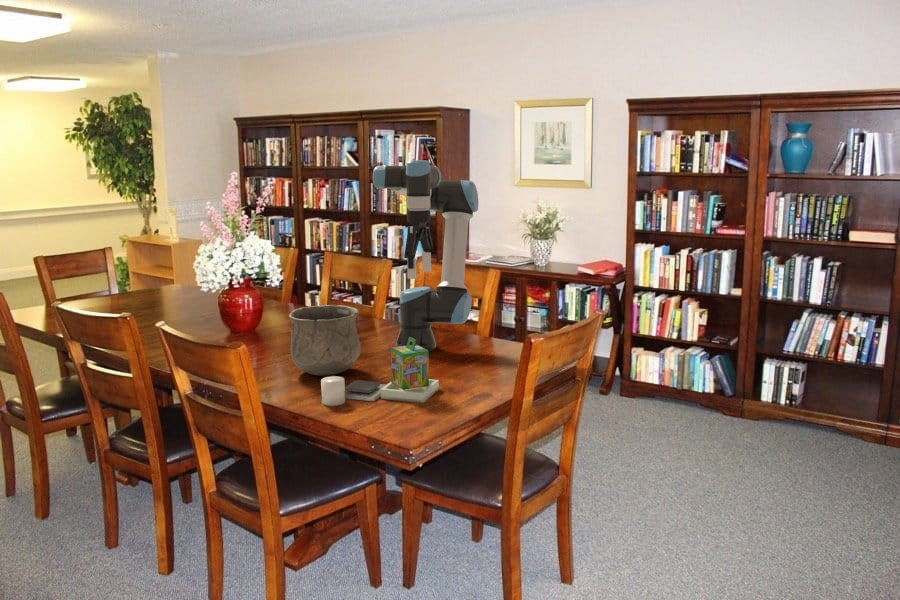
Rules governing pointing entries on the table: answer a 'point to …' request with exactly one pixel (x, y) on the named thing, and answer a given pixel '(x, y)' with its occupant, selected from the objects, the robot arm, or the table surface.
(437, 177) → the robot arm
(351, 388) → the checker plate
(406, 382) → the chalk box
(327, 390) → the white cylinder
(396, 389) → the trough tray
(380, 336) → the table surface
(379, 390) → the checker base
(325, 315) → the pot
